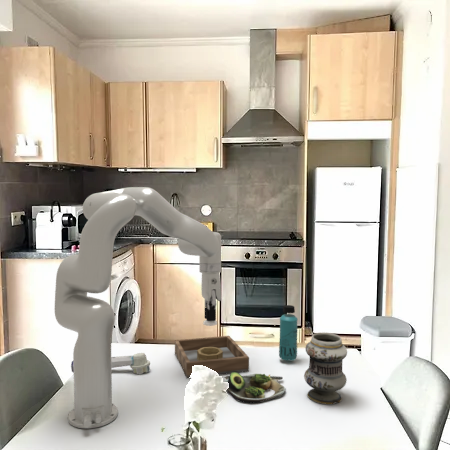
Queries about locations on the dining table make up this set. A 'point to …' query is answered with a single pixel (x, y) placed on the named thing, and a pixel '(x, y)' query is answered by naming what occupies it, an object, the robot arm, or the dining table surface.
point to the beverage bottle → (288, 334)
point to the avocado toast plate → (253, 387)
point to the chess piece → (210, 322)
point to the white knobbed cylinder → (129, 363)
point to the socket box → (211, 355)
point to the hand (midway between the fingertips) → (210, 319)
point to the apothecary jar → (325, 368)
